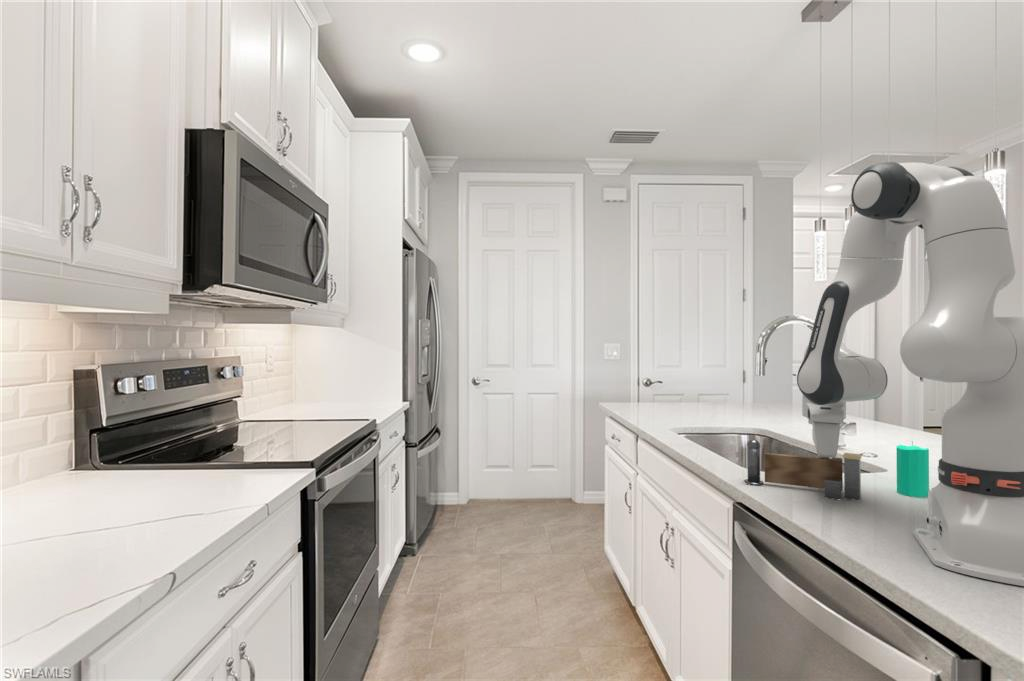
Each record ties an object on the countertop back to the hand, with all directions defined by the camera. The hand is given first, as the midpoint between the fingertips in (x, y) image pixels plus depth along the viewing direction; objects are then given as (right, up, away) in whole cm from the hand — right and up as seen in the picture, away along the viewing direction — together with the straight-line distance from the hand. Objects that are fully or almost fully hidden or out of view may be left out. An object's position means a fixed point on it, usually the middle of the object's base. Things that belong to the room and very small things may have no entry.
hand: (823, 468), depth 125 cm
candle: (+18, -5, -4) cm, 19 cm away
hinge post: (-14, -5, +5) cm, 16 cm away
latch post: (0, -5, -7) cm, 8 cm away
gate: (-5, -4, 0) cm, 6 cm away
